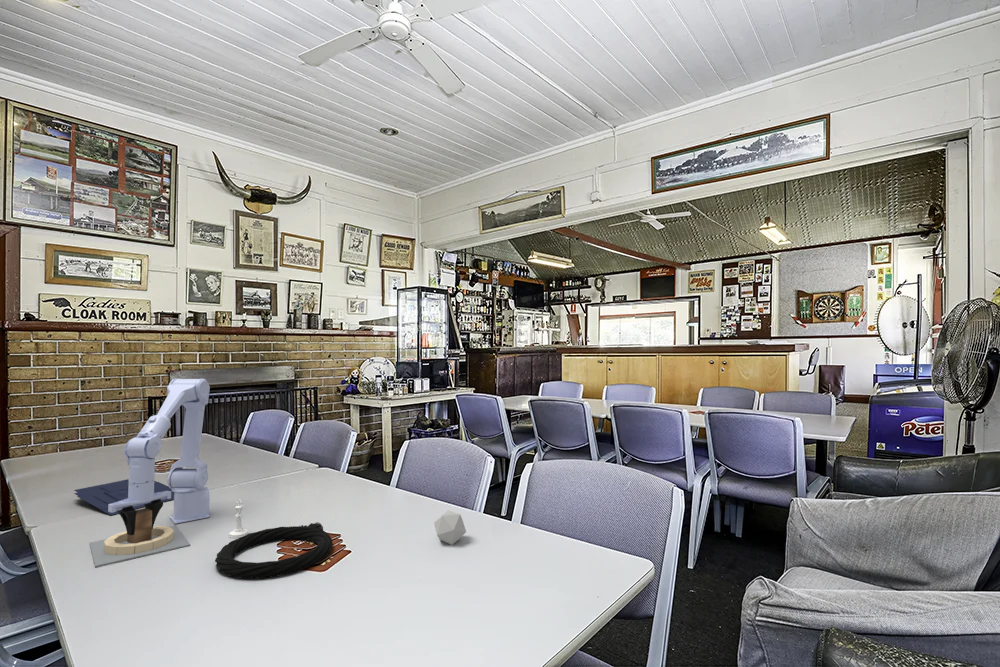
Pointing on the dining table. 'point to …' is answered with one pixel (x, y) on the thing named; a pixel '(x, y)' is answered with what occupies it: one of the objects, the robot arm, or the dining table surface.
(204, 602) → the dining table surface
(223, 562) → the cable lock
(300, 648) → the dining table surface
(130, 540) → the wooden peg
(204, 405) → the robot arm
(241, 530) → the chess piece
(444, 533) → the die
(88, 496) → the dark blue flat plate
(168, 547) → the bead board
